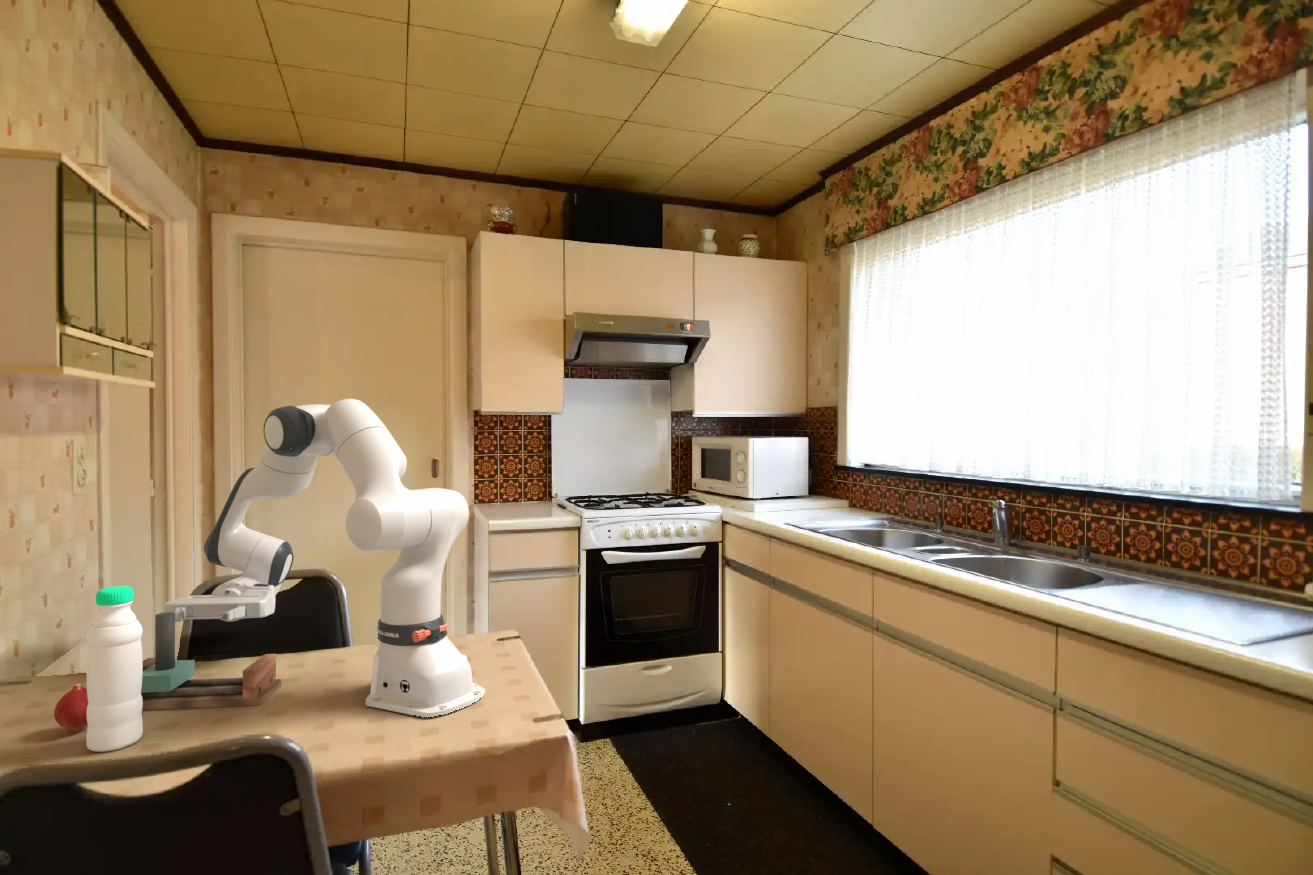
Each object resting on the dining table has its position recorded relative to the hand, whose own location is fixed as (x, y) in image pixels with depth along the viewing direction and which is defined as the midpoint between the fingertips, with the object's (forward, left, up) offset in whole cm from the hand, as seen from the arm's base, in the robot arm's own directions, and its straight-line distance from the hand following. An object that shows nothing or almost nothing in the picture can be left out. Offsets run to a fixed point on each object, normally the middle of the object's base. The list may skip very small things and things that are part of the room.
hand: (200, 617), depth 137 cm
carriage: (-8, +9, -9) cm, 15 cm away
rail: (-13, +5, -12) cm, 18 cm away
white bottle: (-21, +21, -12) cm, 32 cm away
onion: (-10, +23, -12) cm, 28 cm away
